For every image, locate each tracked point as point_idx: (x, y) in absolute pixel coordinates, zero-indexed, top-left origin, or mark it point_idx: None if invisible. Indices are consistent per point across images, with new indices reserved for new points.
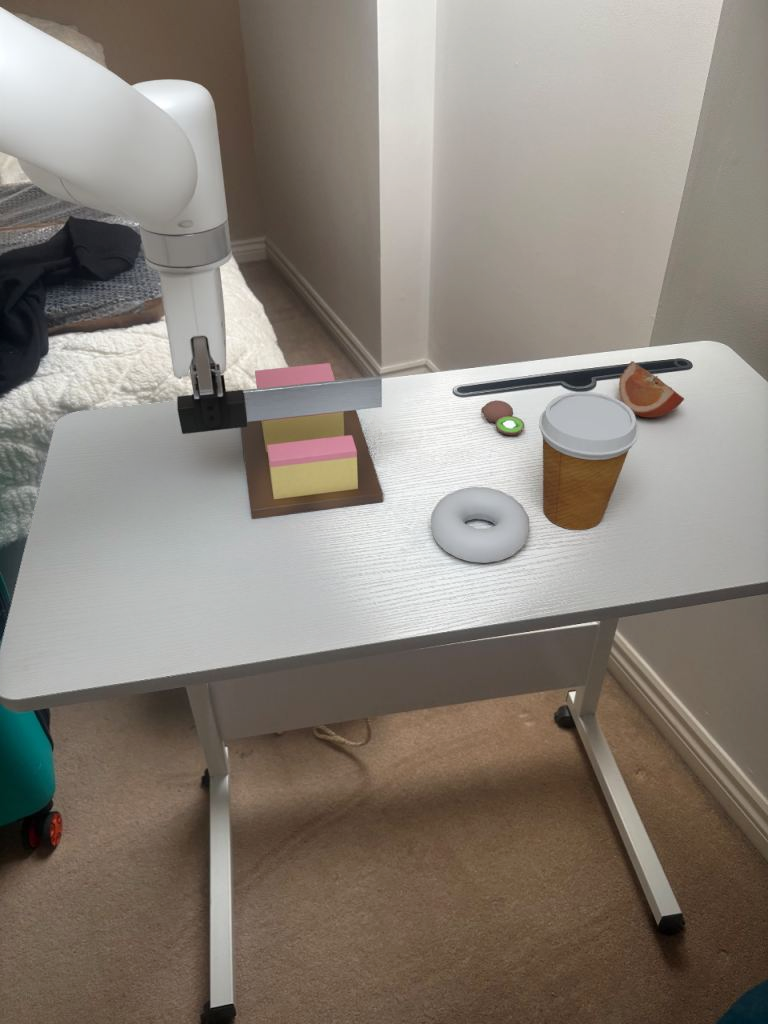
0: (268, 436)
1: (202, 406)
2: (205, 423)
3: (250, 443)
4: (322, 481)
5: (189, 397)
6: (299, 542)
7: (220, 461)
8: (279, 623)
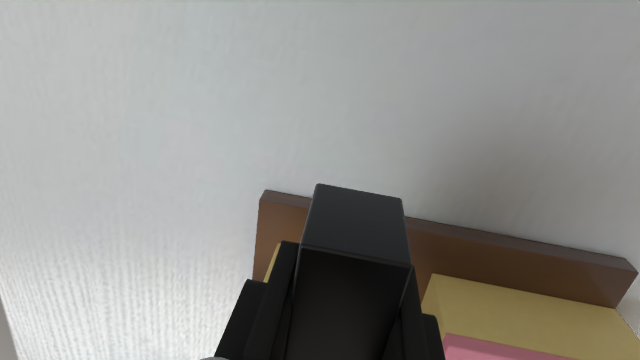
0: (436, 306)
1: (219, 345)
2: (244, 285)
3: (481, 256)
4: None
5: (375, 305)
6: (186, 237)
7: (477, 182)
8: (13, 160)
